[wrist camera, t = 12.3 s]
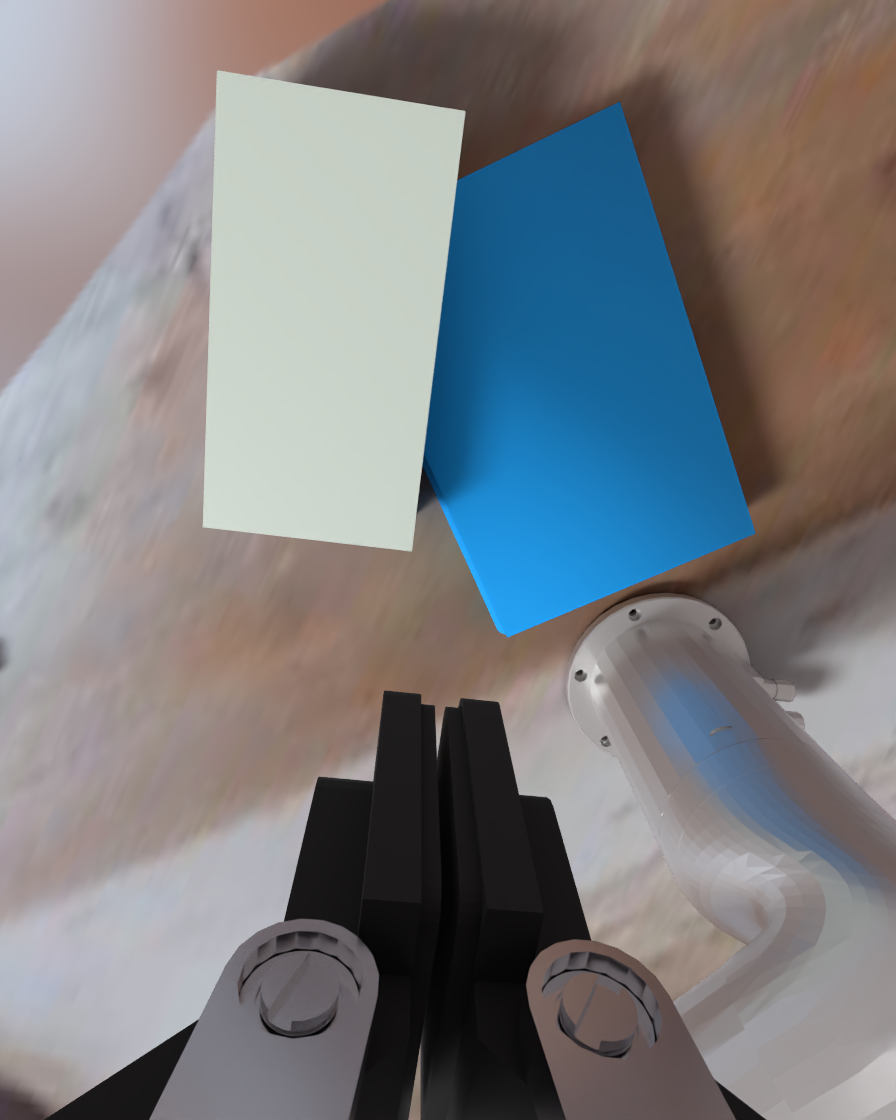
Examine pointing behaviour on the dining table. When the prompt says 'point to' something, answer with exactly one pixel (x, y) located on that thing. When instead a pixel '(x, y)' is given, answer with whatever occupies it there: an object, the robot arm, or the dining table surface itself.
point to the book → (571, 385)
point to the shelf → (324, 308)
